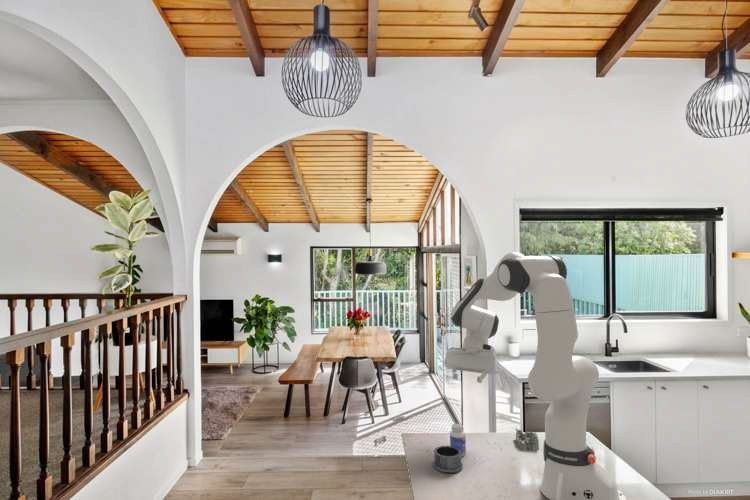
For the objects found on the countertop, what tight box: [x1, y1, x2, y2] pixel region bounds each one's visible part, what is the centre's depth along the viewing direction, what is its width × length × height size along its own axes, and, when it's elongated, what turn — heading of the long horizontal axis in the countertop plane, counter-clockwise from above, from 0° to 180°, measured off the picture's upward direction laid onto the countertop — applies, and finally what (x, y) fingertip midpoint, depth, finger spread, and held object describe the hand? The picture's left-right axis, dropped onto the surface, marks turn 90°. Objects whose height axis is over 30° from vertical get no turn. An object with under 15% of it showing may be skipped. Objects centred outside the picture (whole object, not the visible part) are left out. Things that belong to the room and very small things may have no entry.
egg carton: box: [515, 427, 540, 451], centre depth 162 cm, size 11×8×4 cm
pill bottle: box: [449, 423, 467, 457], centre depth 154 cm, size 5×5×10 cm
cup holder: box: [432, 445, 464, 475], centre depth 144 cm, size 10×10×5 cm
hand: (466, 380), depth 166 cm, fingers open, 8 cm apart
